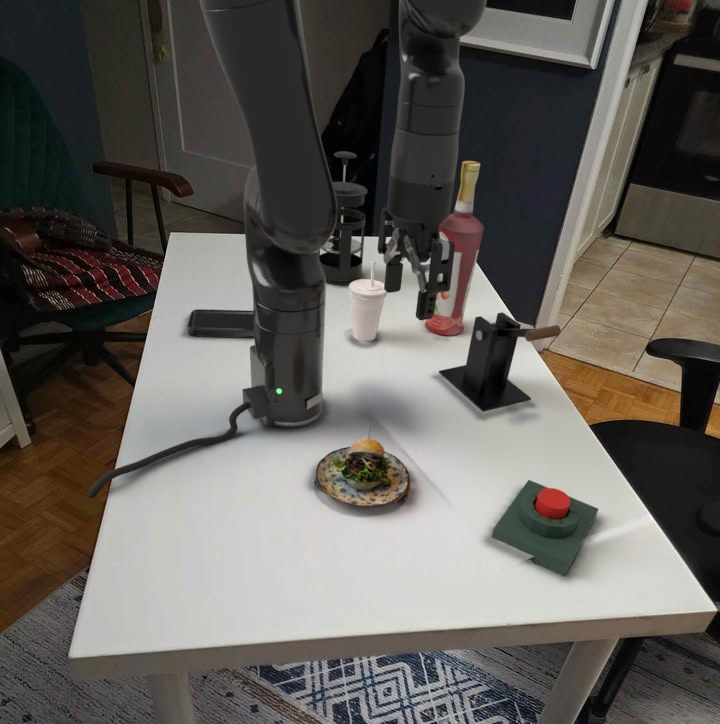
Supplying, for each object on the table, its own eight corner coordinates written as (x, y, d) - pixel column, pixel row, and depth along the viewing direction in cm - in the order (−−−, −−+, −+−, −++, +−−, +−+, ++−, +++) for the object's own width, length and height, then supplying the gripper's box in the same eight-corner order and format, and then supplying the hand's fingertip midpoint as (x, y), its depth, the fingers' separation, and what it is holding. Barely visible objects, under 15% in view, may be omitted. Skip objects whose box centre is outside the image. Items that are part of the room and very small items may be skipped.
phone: (192, 309, 113) (278, 311, 114) (192, 315, 114) (278, 317, 115) (186, 330, 107) (277, 331, 108) (187, 336, 108) (277, 338, 109)
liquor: (471, 337, 115) (505, 168, 97) (437, 344, 112) (465, 171, 94) (448, 320, 119) (476, 155, 101) (415, 326, 116) (438, 158, 99)
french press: (313, 265, 135) (316, 144, 120) (357, 265, 137) (365, 146, 122) (320, 289, 126) (324, 161, 111) (367, 288, 128) (377, 163, 113)
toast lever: (561, 339, 87) (560, 321, 86) (532, 345, 85) (531, 326, 84) (503, 337, 97) (502, 321, 96) (476, 343, 95) (475, 326, 94)
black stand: (529, 404, 99) (549, 334, 91) (481, 416, 95) (498, 344, 88) (483, 367, 107) (498, 299, 99) (437, 377, 103) (449, 308, 96)
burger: (296, 491, 79) (296, 442, 75) (346, 445, 87) (350, 398, 83) (380, 531, 75) (386, 481, 70) (425, 478, 83) (433, 431, 78)
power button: (560, 524, 73) (564, 513, 72) (530, 511, 74) (534, 500, 73) (570, 507, 75) (574, 496, 74) (541, 495, 77) (545, 483, 75)
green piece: (564, 576, 72) (574, 551, 69) (489, 542, 75) (496, 516, 72) (593, 521, 79) (603, 497, 76) (524, 492, 82) (532, 468, 80)
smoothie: (378, 352, 108) (386, 270, 99) (341, 346, 109) (346, 264, 100) (385, 335, 113) (393, 256, 104) (349, 329, 114) (354, 250, 105)
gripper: (365, 157, 77) (358, 286, 88) (426, 193, 68) (409, 333, 78) (419, 153, 80) (406, 279, 91) (484, 187, 71) (461, 323, 81)
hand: (407, 304), depth 84 cm, fingers open, 8 cm apart
